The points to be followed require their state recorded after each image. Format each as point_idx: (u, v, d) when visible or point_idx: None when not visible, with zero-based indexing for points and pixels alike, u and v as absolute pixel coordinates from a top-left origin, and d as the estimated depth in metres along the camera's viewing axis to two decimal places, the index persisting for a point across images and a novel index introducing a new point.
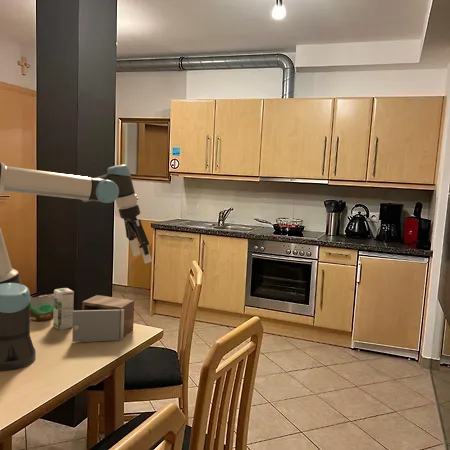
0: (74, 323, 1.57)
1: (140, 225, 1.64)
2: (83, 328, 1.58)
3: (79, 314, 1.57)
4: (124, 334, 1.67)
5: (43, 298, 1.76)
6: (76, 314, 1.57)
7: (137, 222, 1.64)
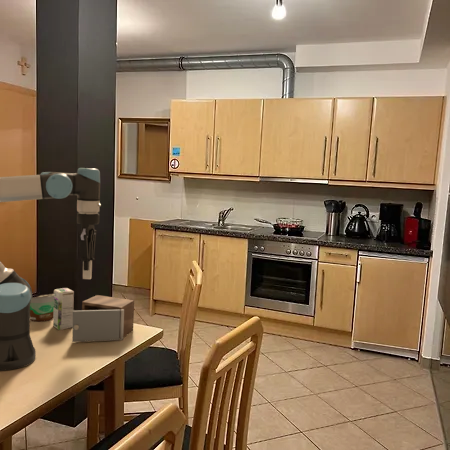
0: (74, 323, 1.57)
1: (84, 240, 1.53)
2: (83, 328, 1.58)
3: (79, 314, 1.57)
4: (124, 334, 1.67)
5: (43, 298, 1.76)
6: (76, 314, 1.57)
7: (82, 237, 1.52)
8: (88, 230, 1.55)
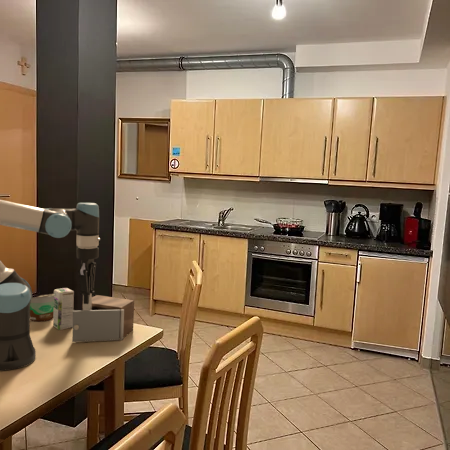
0: (74, 323, 1.57)
1: (84, 275, 1.55)
2: (83, 328, 1.58)
3: (79, 314, 1.57)
4: (124, 334, 1.67)
5: (43, 298, 1.76)
6: (76, 314, 1.57)
7: (81, 272, 1.54)
8: (88, 264, 1.57)
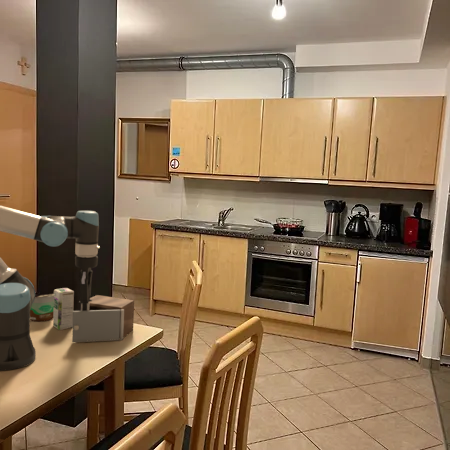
0: (74, 323, 1.57)
1: (85, 284, 1.54)
2: (83, 328, 1.58)
3: (79, 314, 1.57)
4: (124, 334, 1.67)
5: (43, 298, 1.76)
6: (76, 314, 1.57)
7: (83, 281, 1.53)
8: (88, 273, 1.56)
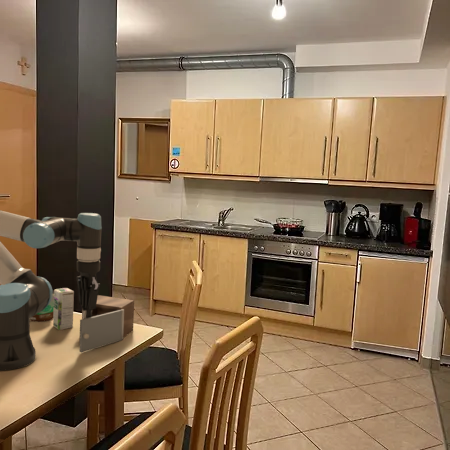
0: (83, 332, 1.49)
1: (97, 289, 1.49)
2: (91, 336, 1.52)
3: (87, 322, 1.50)
4: (124, 334, 1.67)
5: None
6: (85, 322, 1.49)
7: (96, 286, 1.47)
8: None
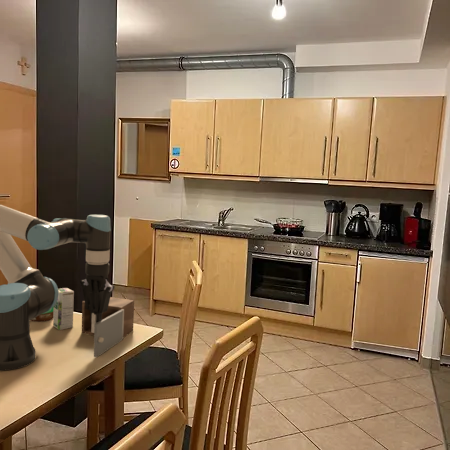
0: (98, 336, 1.46)
1: (110, 291, 1.47)
2: None
3: (100, 325, 1.48)
4: (124, 334, 1.67)
5: None
6: (99, 326, 1.47)
7: (111, 288, 1.46)
8: None
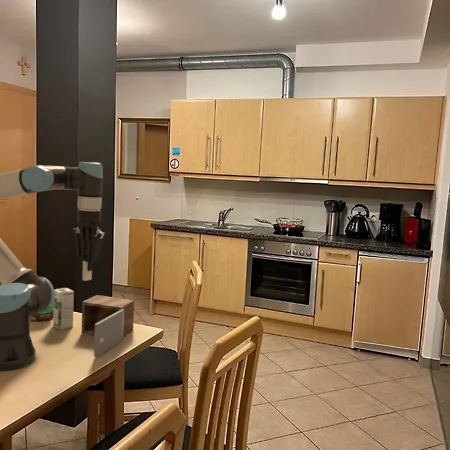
0: (98, 336, 1.46)
1: (102, 239, 1.47)
2: None
3: (101, 325, 1.48)
4: (124, 334, 1.67)
5: None
6: (99, 326, 1.47)
7: (102, 235, 1.46)
8: None
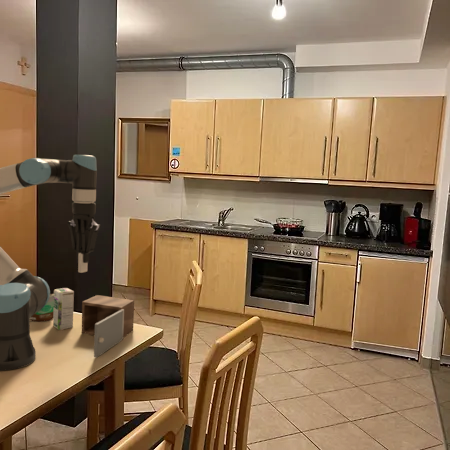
0: (98, 336, 1.46)
1: (97, 230, 1.49)
2: None
3: (101, 325, 1.48)
4: (124, 334, 1.67)
5: None
6: (99, 326, 1.47)
7: (98, 227, 1.48)
8: None
